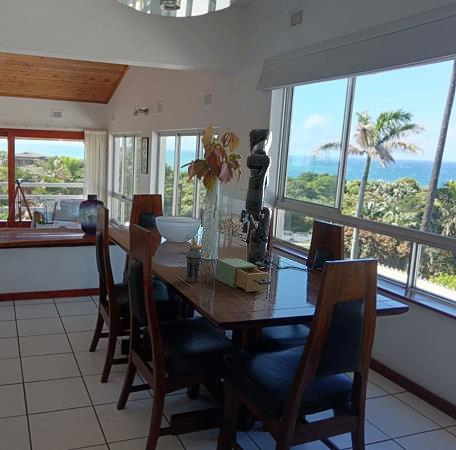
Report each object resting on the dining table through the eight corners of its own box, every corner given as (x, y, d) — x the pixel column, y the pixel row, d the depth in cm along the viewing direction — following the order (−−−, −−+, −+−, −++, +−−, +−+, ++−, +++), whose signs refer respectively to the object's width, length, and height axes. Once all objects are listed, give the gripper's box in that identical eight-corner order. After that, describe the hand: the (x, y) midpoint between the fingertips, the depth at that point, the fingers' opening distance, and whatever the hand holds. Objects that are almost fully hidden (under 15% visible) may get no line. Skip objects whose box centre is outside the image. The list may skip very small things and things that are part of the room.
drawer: (274, 293, 201) (276, 276, 199) (253, 295, 195) (255, 277, 194) (248, 281, 217) (250, 265, 215) (228, 282, 212) (230, 266, 210)
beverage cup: (202, 281, 214) (206, 239, 210) (193, 284, 208) (197, 241, 205) (190, 277, 218) (194, 236, 215) (180, 280, 213) (184, 238, 210)
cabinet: (254, 285, 213) (257, 265, 212) (232, 287, 208) (235, 267, 206) (236, 277, 226) (238, 258, 225) (214, 278, 221) (216, 259, 219)
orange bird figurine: (213, 256, 270) (215, 237, 268) (183, 253, 271) (184, 234, 269) (213, 253, 276) (215, 235, 275) (183, 250, 278) (185, 232, 276)
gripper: (271, 201, 200) (267, 237, 203) (251, 197, 213) (247, 231, 215) (258, 201, 197) (254, 238, 199) (238, 197, 209) (234, 231, 212)
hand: (250, 234), depth 207 cm, fingers open, 8 cm apart
